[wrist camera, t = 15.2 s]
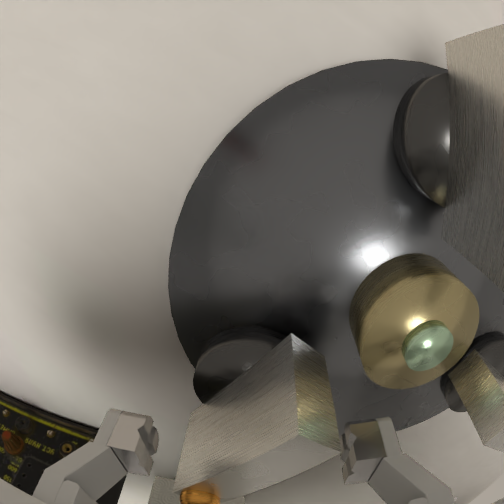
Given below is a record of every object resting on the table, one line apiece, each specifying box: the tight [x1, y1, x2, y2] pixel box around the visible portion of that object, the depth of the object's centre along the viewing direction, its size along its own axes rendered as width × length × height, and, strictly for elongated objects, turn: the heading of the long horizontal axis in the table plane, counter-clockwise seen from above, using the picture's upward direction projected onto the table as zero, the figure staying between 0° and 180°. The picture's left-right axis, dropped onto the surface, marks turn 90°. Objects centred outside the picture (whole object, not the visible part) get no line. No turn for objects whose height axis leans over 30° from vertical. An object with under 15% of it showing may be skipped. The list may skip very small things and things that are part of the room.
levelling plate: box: [168, 59, 504, 439], centre depth 11 cm, size 18×18×4 cm
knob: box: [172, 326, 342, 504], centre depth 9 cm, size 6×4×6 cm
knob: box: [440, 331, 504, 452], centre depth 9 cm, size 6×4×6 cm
